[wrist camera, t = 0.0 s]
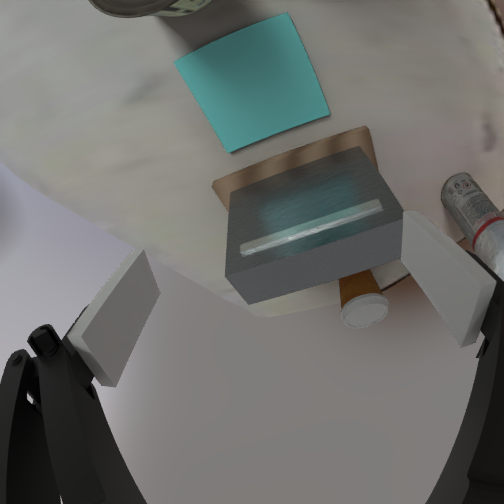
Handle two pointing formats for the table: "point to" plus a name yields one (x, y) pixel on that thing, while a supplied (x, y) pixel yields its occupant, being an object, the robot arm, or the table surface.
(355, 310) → the disposable coffee cup
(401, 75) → the table surface
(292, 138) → the table surface
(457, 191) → the spray can
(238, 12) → the table surface
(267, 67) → the pad
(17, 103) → the table surface
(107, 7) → the coffee can
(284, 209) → the mounted unit
